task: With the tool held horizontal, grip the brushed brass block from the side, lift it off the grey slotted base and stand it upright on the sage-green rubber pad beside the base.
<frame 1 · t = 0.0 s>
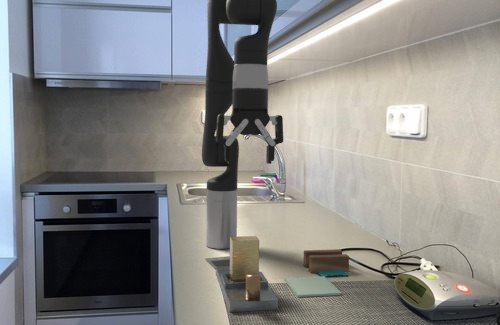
hand: (249, 163, 112), 29 cm above the counter, tool pointing down, fingers open, 8 cm apart
smartphone 2: (227, 267, 138), on the counter
phone stand: (325, 268, 136), on the counter
smartphone: (325, 270, 136), on the counter
grey slotted base: (243, 290, 118), on the counter
brushed brass block: (243, 281, 118), point 2 cm above the counter, touching grey slotted base
pad: (311, 287, 121), on the counter
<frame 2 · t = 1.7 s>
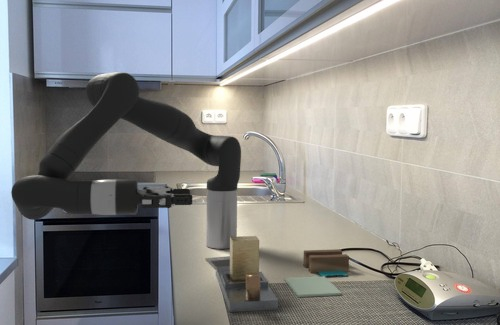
hand: (191, 196, 114), 22 cm above the counter, tool horizontal, fingers open, 8 cm apart
nothing on the counter moved.
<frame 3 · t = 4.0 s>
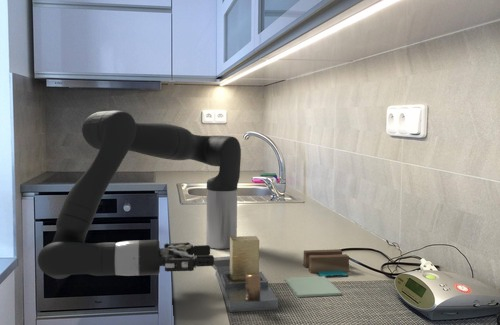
hand: (211, 255, 116), 8 cm above the counter, tool horizontal, fingers open, 8 cm apart
nothing on the counter moved.
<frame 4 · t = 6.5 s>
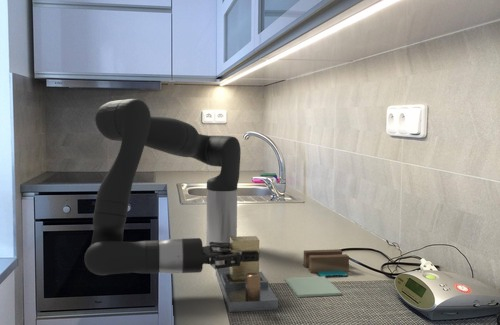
hand: (256, 253, 118), 8 cm above the counter, tool horizontal, fingers closed on brushed brass block, 4 cm apart
brushed brass block: (244, 281, 118), point 2 cm above the counter, touching gripper, grey slotted base
everything else where it was.
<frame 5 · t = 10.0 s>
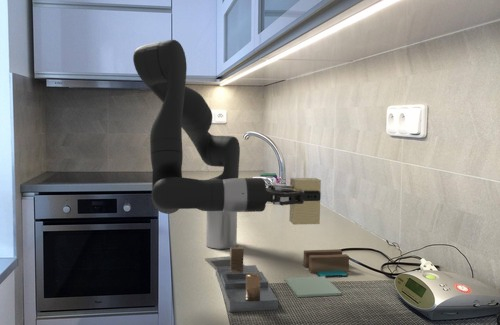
hand: (316, 194, 119), 22 cm above the counter, tool horizontal, fingers closed on brushed brass block, 4 cm apart
brushed brass block: (304, 222, 119), point 15 cm above the counter, touching gripper
everything else where it was.
when the fingers open (8 cm above the counter, at t = 13.9 s): brushed brass block drops 1 cm, resting on pad.
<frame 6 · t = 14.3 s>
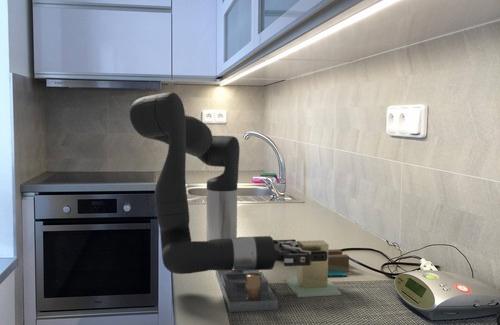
hand: (321, 251, 121), 9 cm above the counter, tool horizontal, fingers open, 7 cm apart
brushed brass block: (312, 285, 121), point 1 cm above the counter, touching pad
everything else where it was.
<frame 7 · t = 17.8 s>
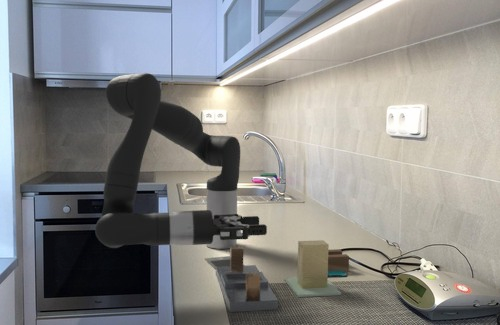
hand: (262, 225, 118), 15 cm above the counter, tool horizontal, fingers open, 8 cm apart
nothing on the counter moved.
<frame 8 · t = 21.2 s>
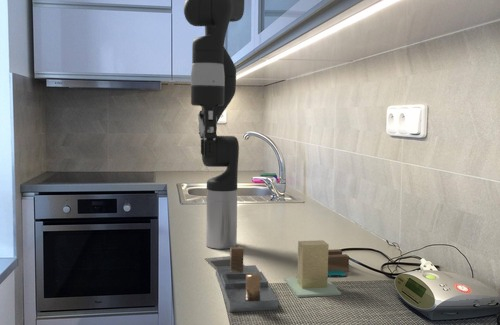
hand: (207, 156, 119), 30 cm above the counter, tool pointing down, fingers open, 8 cm apart
nothing on the counter moved.
at the end: brushed brass block inside the target area on the pad (0.1 cm from its centre), point 0.5 cm above the pad's base; brushed brass block tilted 0°; the gripper is holding nothing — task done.
